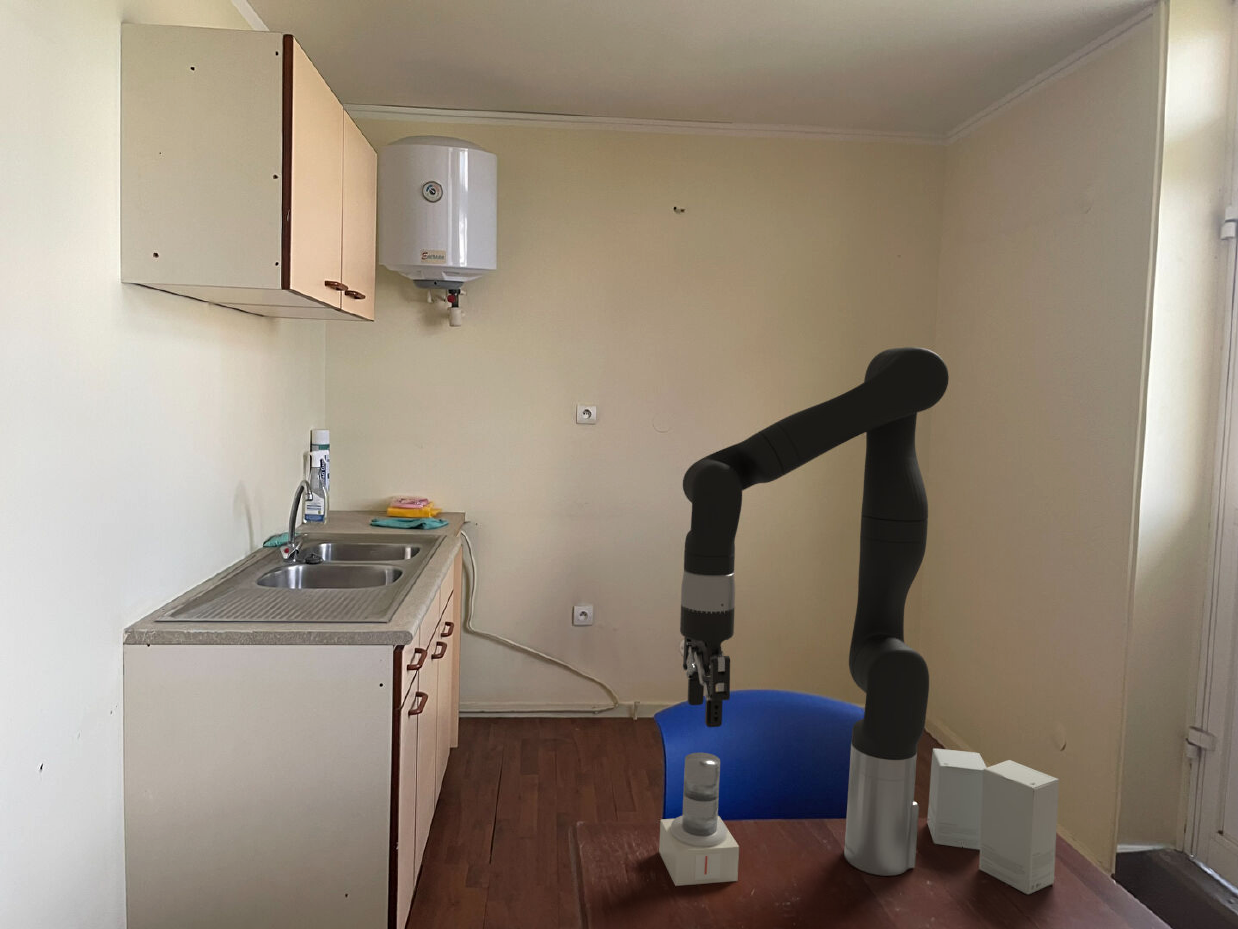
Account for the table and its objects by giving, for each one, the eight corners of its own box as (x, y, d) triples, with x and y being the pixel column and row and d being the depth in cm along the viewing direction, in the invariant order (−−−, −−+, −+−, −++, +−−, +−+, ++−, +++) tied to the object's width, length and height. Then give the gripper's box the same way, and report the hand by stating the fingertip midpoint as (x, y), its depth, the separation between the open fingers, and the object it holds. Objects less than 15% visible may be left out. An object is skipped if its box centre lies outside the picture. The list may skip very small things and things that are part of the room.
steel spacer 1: (712, 784, 130) (713, 751, 130) (723, 800, 126) (725, 766, 125) (679, 786, 129) (680, 753, 129) (689, 802, 125) (690, 768, 124)
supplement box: (983, 851, 136) (990, 771, 135) (932, 844, 137) (938, 765, 136) (974, 828, 143) (980, 752, 142) (926, 822, 144) (931, 746, 143)
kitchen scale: (717, 848, 134) (719, 810, 133) (738, 882, 125) (740, 842, 124) (659, 852, 132) (660, 814, 131) (676, 887, 123) (677, 847, 122)
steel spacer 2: (710, 818, 131) (712, 785, 130) (721, 835, 126) (723, 801, 125) (677, 820, 130) (679, 787, 129) (687, 837, 125) (689, 803, 124)
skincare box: (1054, 885, 127) (1063, 780, 126) (1026, 897, 124) (1035, 789, 122) (1002, 857, 134) (1010, 757, 133) (974, 868, 131) (982, 766, 129)
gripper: (750, 614, 119) (746, 732, 120) (717, 590, 133) (713, 696, 134) (696, 616, 117) (692, 736, 119) (668, 591, 131) (665, 698, 133)
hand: (703, 714), depth 126 cm, fingers open, 8 cm apart
